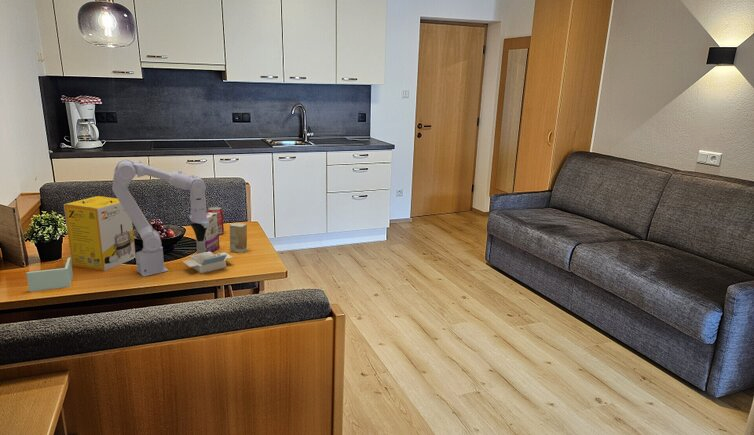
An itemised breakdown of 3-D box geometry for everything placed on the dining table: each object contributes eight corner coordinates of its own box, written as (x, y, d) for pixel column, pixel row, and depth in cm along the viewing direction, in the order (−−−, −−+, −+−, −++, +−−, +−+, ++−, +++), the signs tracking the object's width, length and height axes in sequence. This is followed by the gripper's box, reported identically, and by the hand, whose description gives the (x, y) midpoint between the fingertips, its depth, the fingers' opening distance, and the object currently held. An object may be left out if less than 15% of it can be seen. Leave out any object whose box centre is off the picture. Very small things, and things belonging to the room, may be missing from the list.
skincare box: (229, 251, 216) (228, 225, 213) (234, 248, 221) (233, 222, 217) (243, 253, 215) (242, 226, 212) (247, 250, 219) (246, 223, 216)
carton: (191, 275, 189) (190, 262, 187) (178, 266, 198) (177, 253, 196) (234, 265, 200) (233, 252, 199) (220, 257, 209) (219, 244, 208)
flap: (201, 264, 191) (201, 265, 191) (204, 258, 188) (204, 259, 188) (223, 259, 197) (223, 260, 197) (226, 254, 194) (226, 255, 194)
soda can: (227, 233, 241) (225, 208, 238) (215, 236, 235) (213, 210, 232) (217, 230, 245) (215, 205, 241) (205, 234, 239) (203, 208, 236)
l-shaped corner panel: (73, 276, 185) (70, 257, 183) (70, 288, 175) (67, 268, 173) (35, 280, 180) (32, 261, 178) (29, 293, 170) (26, 273, 168)
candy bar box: (209, 247, 221) (207, 212, 217) (219, 248, 220) (218, 212, 216) (196, 255, 211) (193, 218, 206) (206, 256, 210) (204, 219, 205)
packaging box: (105, 252, 209) (98, 195, 203) (136, 258, 205) (130, 199, 198) (71, 265, 194) (63, 204, 188) (104, 271, 190) (96, 208, 183)
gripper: (216, 210, 191) (218, 243, 194) (200, 203, 201) (202, 234, 205) (198, 213, 186) (200, 246, 190) (183, 205, 196) (185, 237, 200)
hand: (200, 240), depth 197 cm, fingers closed
